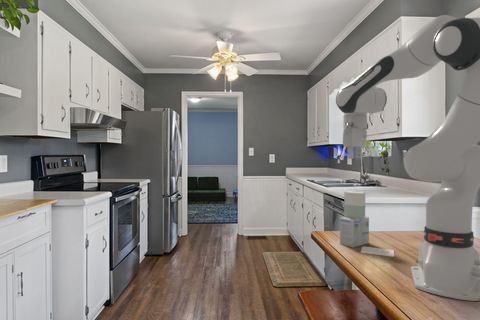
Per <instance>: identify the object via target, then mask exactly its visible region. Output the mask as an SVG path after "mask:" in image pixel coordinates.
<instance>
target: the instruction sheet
mask: <svg viewBox="0 0 480 320" xmlns="http://www.w3.org/2000/svg"><path fill="white" fill-rule="evenodd" d="M361 246H362V247H361V250H360V253H361V254H368V255H376V256H382V257H390V258H391V257H392V258H395V250H394V249H388V248H387V249H386V248H380V247H379V248H377V247H370V246H363V245H361Z"/></svg>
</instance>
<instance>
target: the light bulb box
mask: <svg viewBox="0 0 480 320" xmlns="http://www.w3.org/2000/svg"><path fill="white" fill-rule="evenodd" d="M369 237H370V217H369V216H366V215H365V218H363V219H358V218H350V217H344V216H343V217H339V244H340V245H343V246H347V247H349V248H352V249H353V248H357V247H359V246H363V245H366V244H369V243H370V242H369V241H370V238H369Z"/></svg>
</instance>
